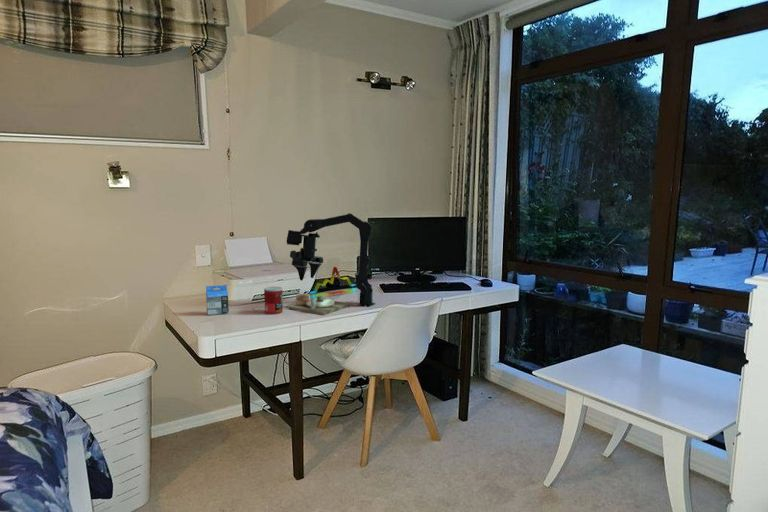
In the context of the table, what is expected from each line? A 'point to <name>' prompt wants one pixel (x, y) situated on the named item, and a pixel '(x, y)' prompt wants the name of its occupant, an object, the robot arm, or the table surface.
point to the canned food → (273, 300)
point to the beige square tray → (322, 310)
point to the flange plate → (320, 301)
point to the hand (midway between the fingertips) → (306, 279)
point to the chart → (332, 283)
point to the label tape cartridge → (217, 300)
